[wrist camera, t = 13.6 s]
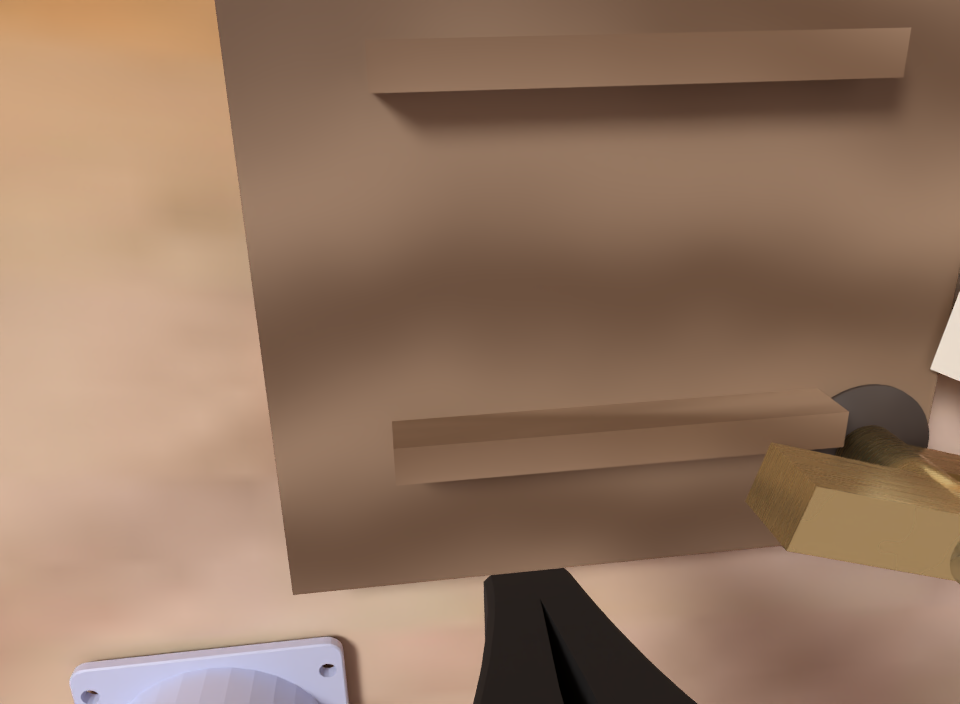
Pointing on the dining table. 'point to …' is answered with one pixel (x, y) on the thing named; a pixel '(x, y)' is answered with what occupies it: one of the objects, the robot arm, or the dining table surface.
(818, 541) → the brass T-key
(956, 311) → the cream cover
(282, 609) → the dining table surface
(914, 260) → the board
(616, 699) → the robot arm
